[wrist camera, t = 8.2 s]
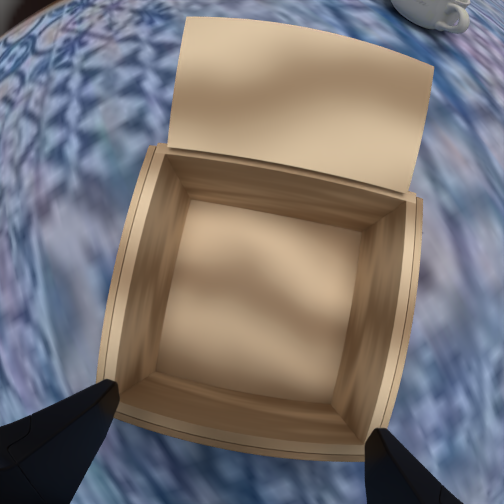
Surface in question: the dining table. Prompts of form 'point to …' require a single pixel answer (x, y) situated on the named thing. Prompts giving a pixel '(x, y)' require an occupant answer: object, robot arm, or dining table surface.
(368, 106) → the flap
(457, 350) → the dining table surface
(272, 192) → the tan wooden open box
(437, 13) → the teacup
